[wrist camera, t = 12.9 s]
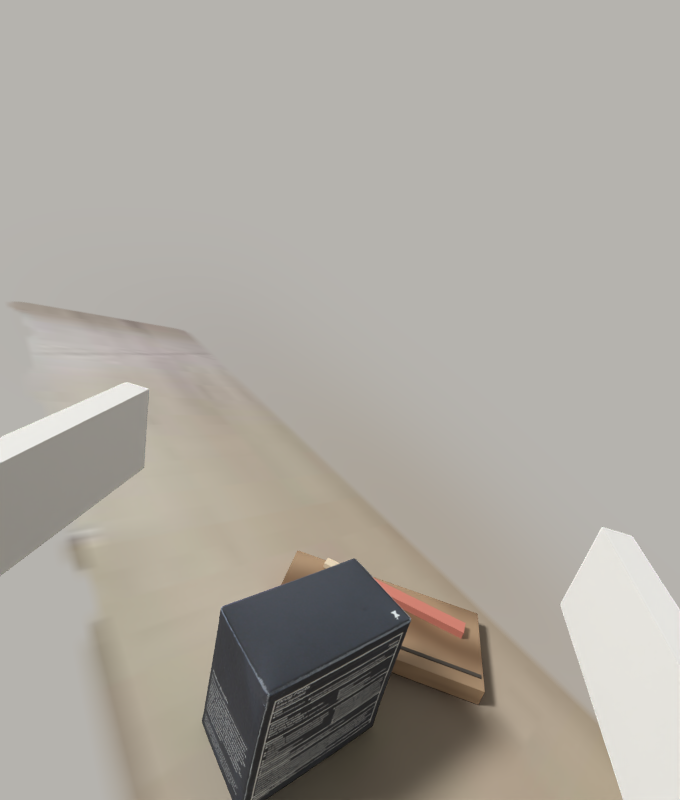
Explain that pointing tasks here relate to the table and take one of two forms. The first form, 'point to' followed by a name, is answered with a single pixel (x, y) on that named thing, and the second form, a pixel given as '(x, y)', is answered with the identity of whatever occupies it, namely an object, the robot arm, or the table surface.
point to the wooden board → (427, 643)
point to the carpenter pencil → (419, 608)
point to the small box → (298, 675)
